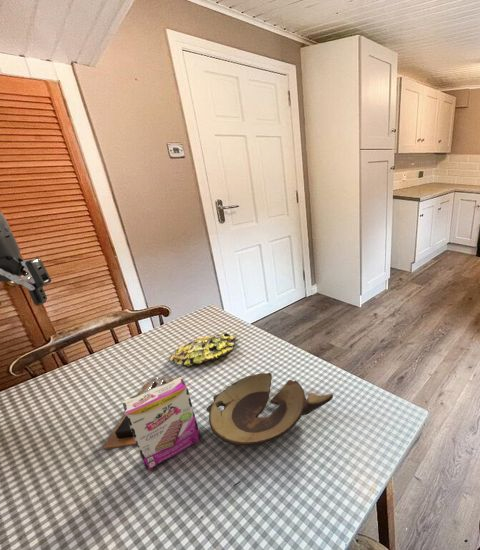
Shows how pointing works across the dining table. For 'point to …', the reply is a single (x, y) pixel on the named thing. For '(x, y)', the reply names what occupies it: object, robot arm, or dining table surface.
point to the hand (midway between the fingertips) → (18, 305)
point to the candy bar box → (162, 422)
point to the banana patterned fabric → (204, 349)
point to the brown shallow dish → (259, 410)
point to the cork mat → (116, 442)
